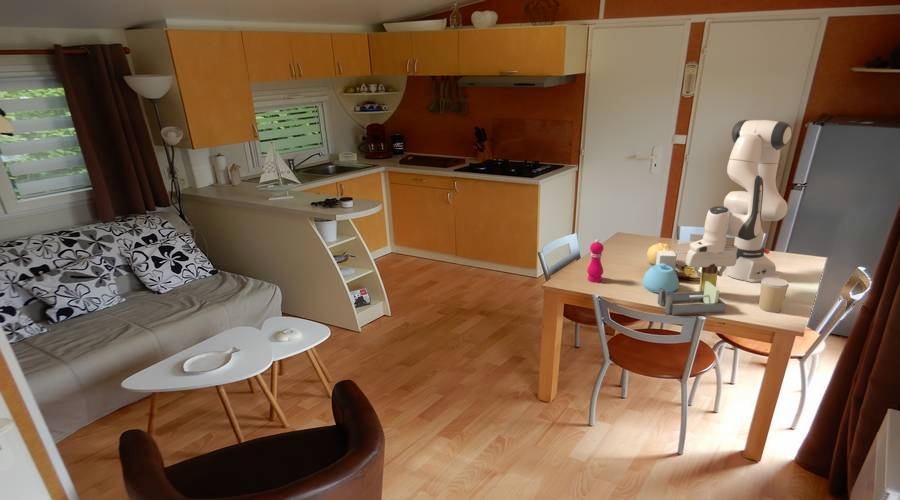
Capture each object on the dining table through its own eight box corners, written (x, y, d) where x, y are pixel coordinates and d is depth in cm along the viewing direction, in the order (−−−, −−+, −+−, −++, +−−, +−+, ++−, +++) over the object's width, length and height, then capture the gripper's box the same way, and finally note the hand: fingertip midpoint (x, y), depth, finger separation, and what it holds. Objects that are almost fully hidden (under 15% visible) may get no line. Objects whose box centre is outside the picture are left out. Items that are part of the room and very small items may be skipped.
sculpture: (674, 268, 251) (677, 247, 248) (649, 268, 253) (651, 247, 249) (668, 259, 262) (670, 239, 258) (643, 259, 264) (645, 239, 260)
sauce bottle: (717, 295, 221) (724, 252, 215) (705, 297, 220) (711, 254, 213) (707, 289, 227) (713, 247, 221) (695, 291, 226) (700, 249, 219)
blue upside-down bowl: (675, 297, 221) (679, 272, 217) (639, 291, 228) (641, 267, 224) (680, 284, 234) (683, 260, 230) (645, 279, 241) (647, 256, 237)
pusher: (705, 300, 216) (708, 281, 213) (716, 310, 208) (719, 290, 205) (683, 301, 216) (686, 282, 213) (693, 311, 208) (696, 291, 205)
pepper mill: (589, 275, 247) (591, 236, 240) (604, 278, 243) (607, 238, 236) (584, 281, 241) (587, 240, 234) (600, 283, 237) (603, 243, 230)
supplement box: (674, 281, 237) (677, 256, 232) (656, 281, 238) (659, 255, 234) (670, 275, 243) (673, 250, 239) (654, 274, 245) (657, 249, 241)
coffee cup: (771, 302, 214) (777, 275, 210) (789, 312, 205) (794, 284, 201) (751, 304, 213) (756, 277, 208) (767, 314, 204) (773, 287, 200)
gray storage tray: (708, 299, 218) (711, 284, 216) (724, 312, 207) (726, 297, 204) (656, 301, 218) (658, 286, 216) (668, 315, 206) (670, 299, 204)
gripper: (733, 242, 219) (728, 272, 224) (686, 243, 219) (682, 273, 224) (742, 246, 213) (736, 277, 218) (693, 248, 213) (688, 279, 218)
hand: (708, 275), depth 221 cm, fingers open, 8 cm apart
